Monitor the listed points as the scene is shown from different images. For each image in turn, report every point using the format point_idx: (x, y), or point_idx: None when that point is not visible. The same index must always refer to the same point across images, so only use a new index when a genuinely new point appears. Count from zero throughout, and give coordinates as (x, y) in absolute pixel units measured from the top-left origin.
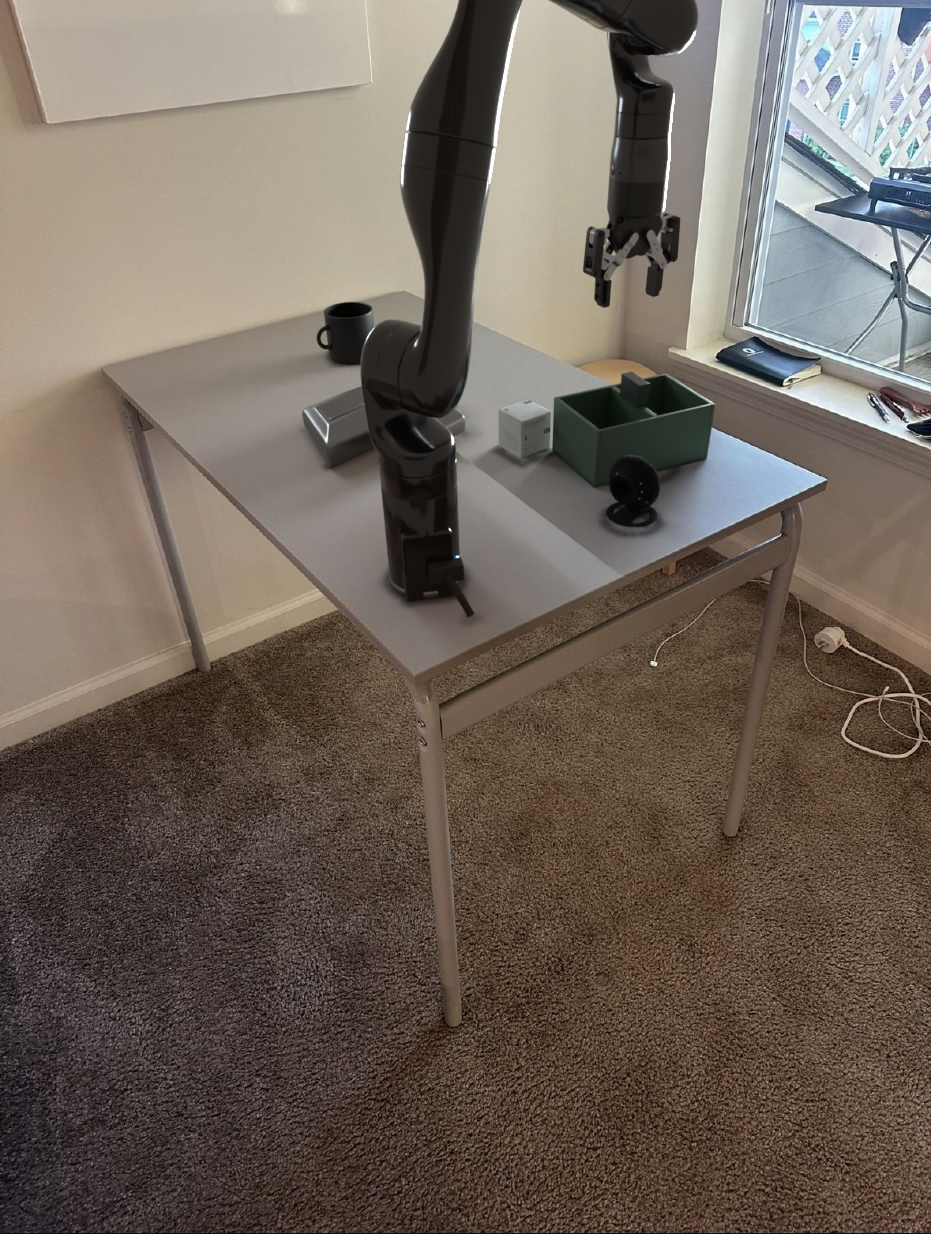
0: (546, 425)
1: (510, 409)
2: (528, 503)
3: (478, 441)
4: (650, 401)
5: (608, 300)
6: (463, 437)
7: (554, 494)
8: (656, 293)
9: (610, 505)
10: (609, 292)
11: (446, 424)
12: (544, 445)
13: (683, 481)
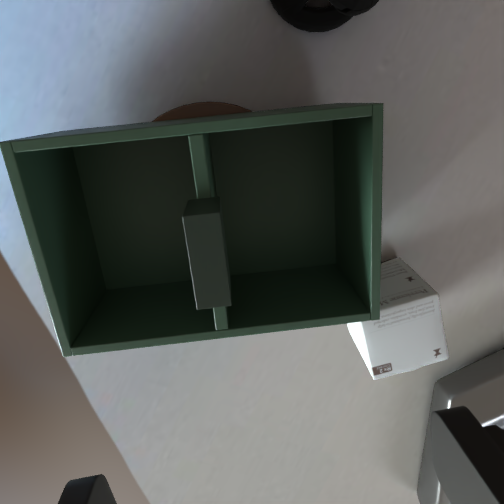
0: None
1: (430, 349)
2: (456, 120)
3: None
4: (120, 312)
5: (467, 432)
6: (435, 372)
7: (398, 134)
8: (85, 486)
9: (344, 17)
10: (495, 477)
11: (493, 382)
12: None
13: (141, 86)
